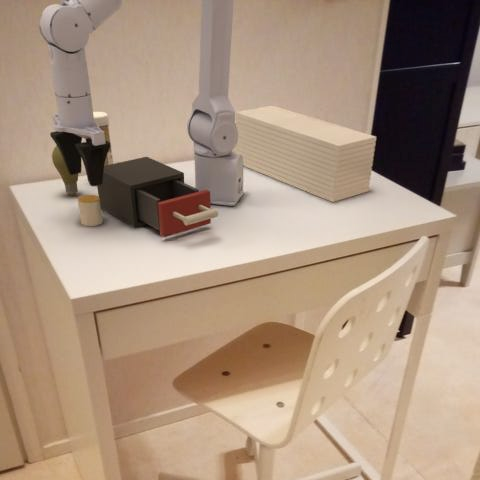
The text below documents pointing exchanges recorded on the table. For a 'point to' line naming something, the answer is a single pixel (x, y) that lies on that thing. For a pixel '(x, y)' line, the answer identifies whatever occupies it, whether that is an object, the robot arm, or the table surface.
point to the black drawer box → (131, 185)
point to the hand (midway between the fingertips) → (85, 179)
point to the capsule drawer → (173, 207)
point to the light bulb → (65, 172)
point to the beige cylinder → (90, 210)
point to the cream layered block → (305, 152)
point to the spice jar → (103, 122)
